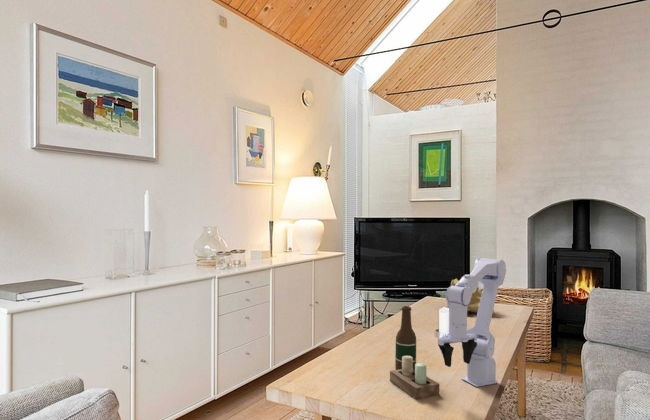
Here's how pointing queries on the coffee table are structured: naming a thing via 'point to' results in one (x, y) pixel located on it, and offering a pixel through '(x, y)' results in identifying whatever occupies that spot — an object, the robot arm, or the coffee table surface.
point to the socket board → (414, 385)
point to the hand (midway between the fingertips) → (457, 364)
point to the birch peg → (407, 365)
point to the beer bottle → (405, 339)
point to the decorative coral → (472, 298)
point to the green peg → (420, 374)
